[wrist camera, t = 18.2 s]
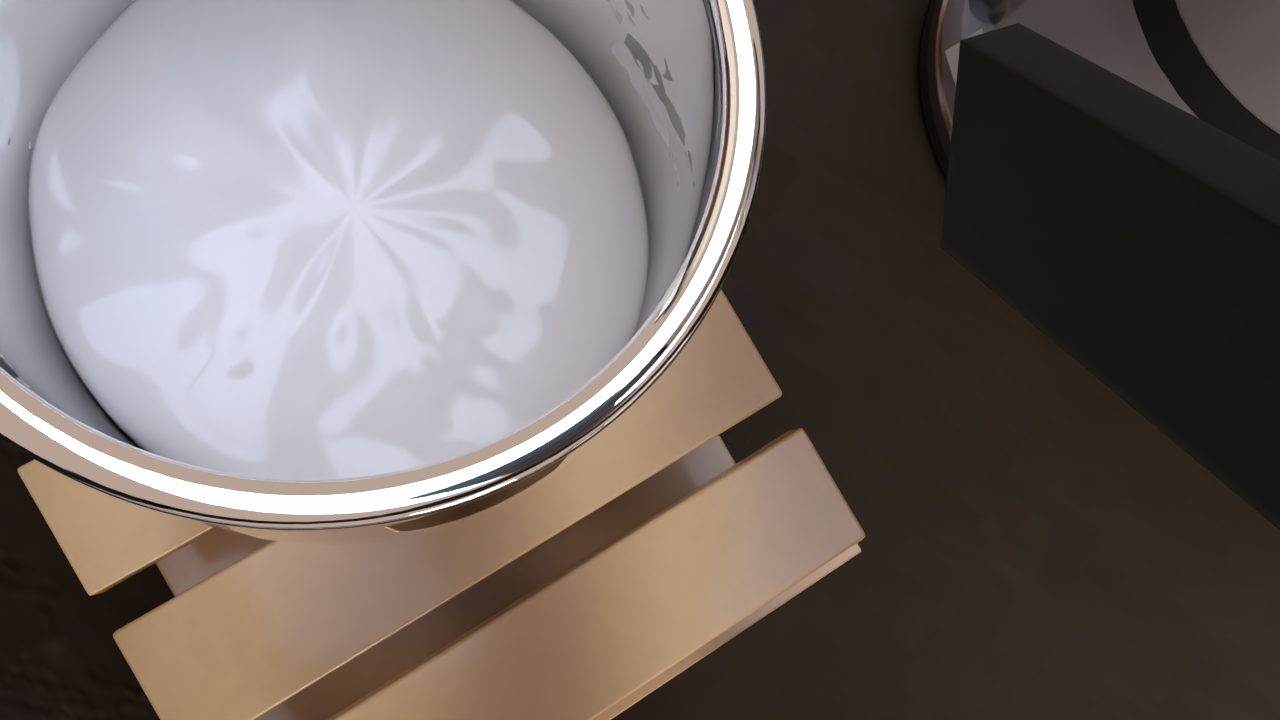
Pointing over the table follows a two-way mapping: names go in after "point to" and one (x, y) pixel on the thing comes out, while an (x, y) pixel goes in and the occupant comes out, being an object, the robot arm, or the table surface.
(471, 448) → the beer glass
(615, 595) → the shoe rack
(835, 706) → the table surface
